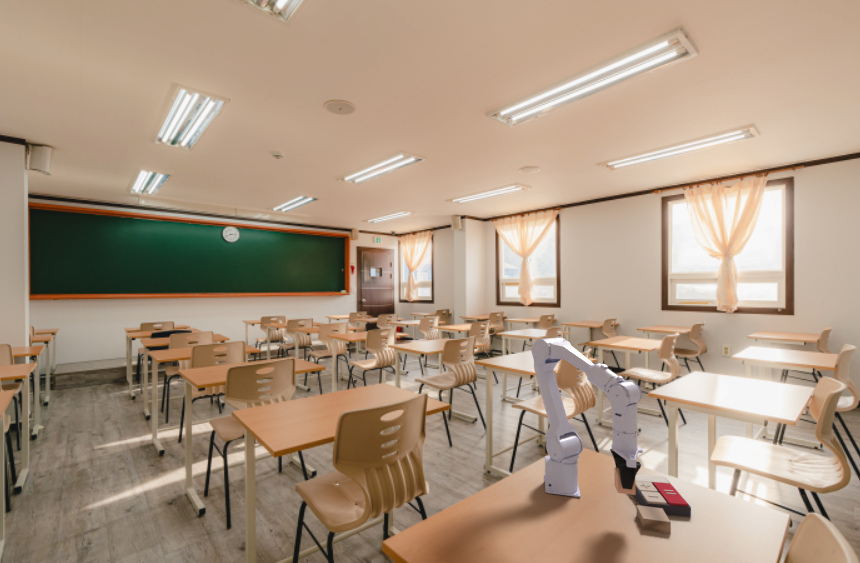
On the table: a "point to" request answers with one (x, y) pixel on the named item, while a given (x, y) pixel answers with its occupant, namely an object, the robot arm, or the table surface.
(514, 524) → the table surface
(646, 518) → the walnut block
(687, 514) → the calculator
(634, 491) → the terracotta block
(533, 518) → the table surface
